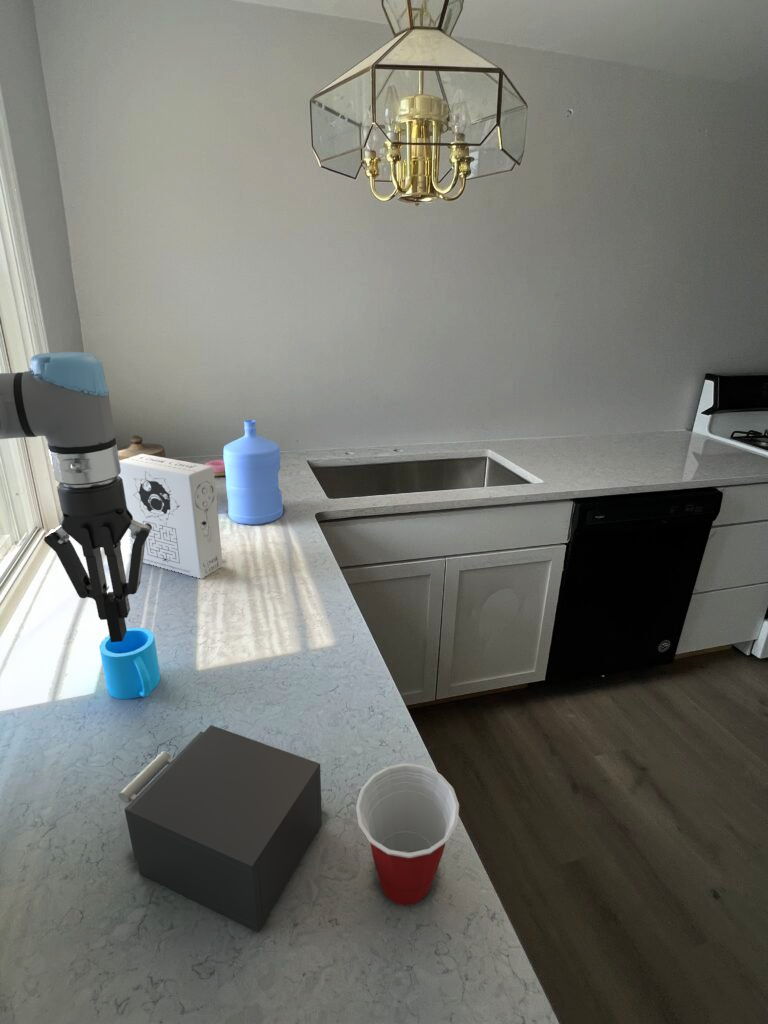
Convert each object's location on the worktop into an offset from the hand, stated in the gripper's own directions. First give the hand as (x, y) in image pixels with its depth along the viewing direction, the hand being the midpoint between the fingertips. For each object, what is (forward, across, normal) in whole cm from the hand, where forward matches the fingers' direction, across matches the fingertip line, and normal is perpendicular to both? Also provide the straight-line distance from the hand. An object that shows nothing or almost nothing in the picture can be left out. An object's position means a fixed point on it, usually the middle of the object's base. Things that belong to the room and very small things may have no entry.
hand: (119, 636), depth 79 cm
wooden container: (+15, -16, +93) cm, 96 cm away
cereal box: (+16, -2, +54) cm, 56 cm away
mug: (+15, -1, +8) cm, 17 cm away
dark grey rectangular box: (+15, +16, -24) cm, 33 cm away
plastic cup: (+16, +35, -32) cm, 50 cm away
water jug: (+16, +17, +83) cm, 86 cm away
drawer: (+14, +13, -22) cm, 29 cm away
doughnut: (+13, +3, +125) cm, 126 cm away
